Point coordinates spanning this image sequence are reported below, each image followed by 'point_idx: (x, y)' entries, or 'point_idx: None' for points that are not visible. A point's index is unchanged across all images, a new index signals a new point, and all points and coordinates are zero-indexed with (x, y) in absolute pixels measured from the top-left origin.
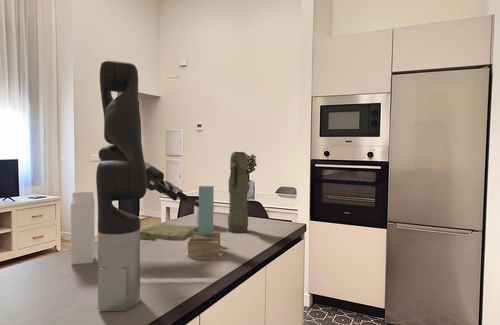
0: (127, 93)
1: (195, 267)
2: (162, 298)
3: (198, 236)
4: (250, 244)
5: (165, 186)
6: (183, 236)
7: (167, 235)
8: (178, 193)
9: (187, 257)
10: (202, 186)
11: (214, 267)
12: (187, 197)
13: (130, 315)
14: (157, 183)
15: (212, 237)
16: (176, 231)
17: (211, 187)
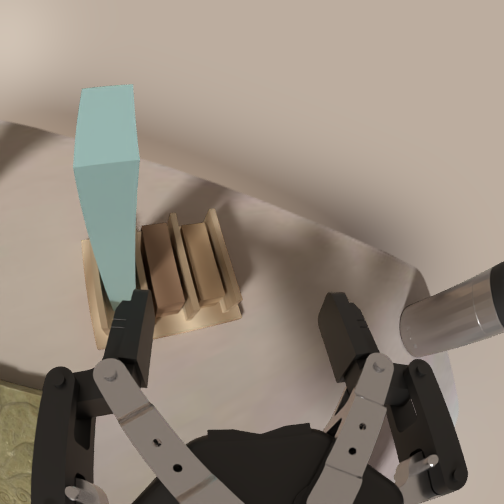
0: None
1: (268, 276)
2: (390, 282)
3: (165, 285)
4: (56, 177)
5: (385, 394)
6: (35, 393)
7: None
8: (136, 383)
9: (232, 311)
10: (135, 136)
11: (254, 235)
12: (149, 297)
13: (425, 298)
14: (445, 421)
15: (168, 235)
16: (7, 429)
17: (133, 96)
